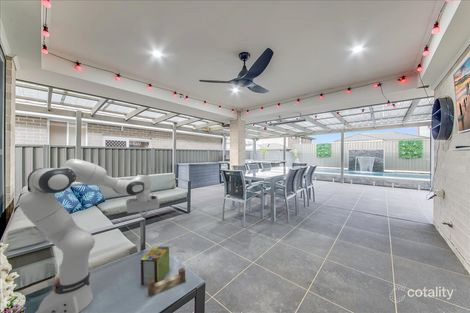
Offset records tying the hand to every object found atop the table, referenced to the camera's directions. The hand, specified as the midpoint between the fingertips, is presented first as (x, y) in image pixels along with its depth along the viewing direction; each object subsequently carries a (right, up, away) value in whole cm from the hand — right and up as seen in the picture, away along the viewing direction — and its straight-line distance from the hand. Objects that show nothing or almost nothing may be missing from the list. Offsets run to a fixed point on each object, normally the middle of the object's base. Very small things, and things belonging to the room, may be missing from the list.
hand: (143, 216), depth 125 cm
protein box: (+14, -34, -13) cm, 38 cm away
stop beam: (+24, -34, -21) cm, 47 cm away
